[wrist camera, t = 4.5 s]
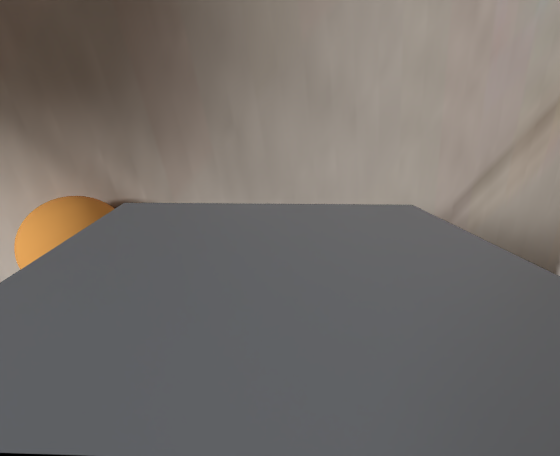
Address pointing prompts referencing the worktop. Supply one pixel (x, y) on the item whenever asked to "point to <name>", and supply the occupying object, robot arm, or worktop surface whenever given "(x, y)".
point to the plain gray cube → (279, 337)
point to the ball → (55, 225)
